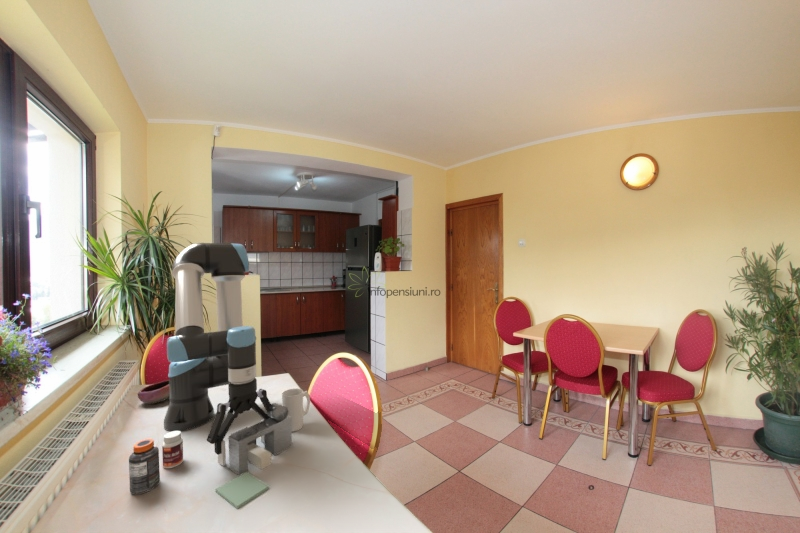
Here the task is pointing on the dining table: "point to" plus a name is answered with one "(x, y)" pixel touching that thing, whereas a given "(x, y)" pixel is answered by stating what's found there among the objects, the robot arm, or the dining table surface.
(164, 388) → the bowl
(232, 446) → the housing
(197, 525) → the dining table surface
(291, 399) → the mug
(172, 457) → the pill bottle
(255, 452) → the plug
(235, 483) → the mat
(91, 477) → the dining table surface
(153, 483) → the pill bottle
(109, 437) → the dining table surface
